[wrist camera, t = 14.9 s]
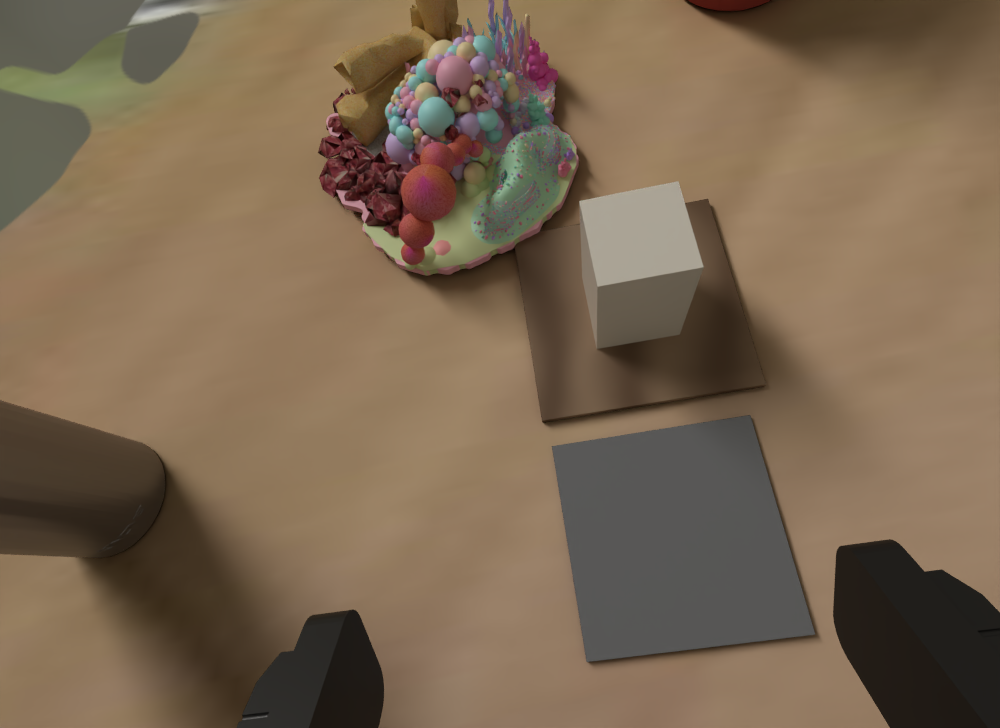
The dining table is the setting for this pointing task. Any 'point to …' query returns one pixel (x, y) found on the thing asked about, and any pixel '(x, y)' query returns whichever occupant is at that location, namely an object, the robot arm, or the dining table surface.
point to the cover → (638, 264)
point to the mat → (677, 541)
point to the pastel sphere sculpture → (448, 140)
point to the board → (640, 365)
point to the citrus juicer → (728, 4)
